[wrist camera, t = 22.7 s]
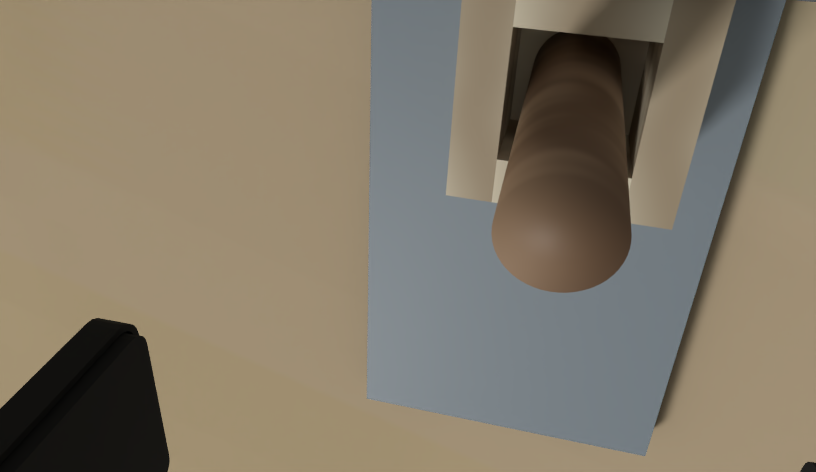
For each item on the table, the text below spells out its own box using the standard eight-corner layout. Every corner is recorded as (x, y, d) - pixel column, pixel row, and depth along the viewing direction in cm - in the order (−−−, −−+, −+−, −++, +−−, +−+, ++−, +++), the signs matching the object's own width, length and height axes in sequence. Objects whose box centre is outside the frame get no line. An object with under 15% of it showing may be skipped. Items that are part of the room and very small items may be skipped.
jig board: (374, 380, 40) (331, 483, 34) (384, -128, 27) (316, -114, 20) (643, 434, 37) (651, 557, 31) (805, -103, 24) (875, -77, 18)
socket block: (468, 143, 30) (445, 195, 26) (487, -58, 26) (464, -35, 22) (662, 170, 28) (671, 229, 24) (716, -39, 24) (738, -10, 20)
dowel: (528, 105, 27) (485, 280, 17) (539, 23, 26) (498, 166, 16) (611, 115, 27) (616, 302, 17) (628, 32, 25) (645, 186, 15)
